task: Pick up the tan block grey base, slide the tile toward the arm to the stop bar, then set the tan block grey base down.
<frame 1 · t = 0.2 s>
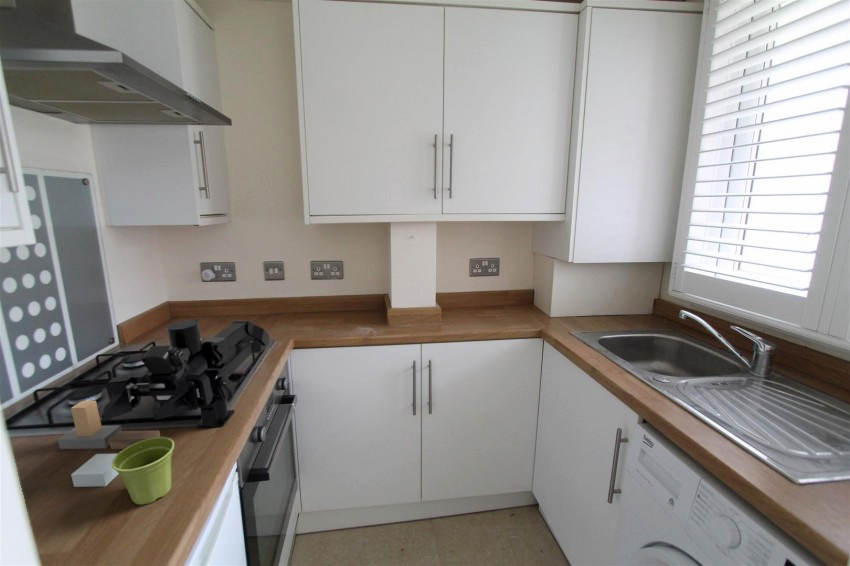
hand: (129, 417, 68), 17 cm above the worktop, tool horizontal, fingers open, 9 cm apart
tile: (102, 476, 78), on the worktop
stop bar: (136, 444, 87), on the worktop
tan block grey base: (92, 442, 89), on the worktop
plant pot: (152, 493, 73), on the worktop
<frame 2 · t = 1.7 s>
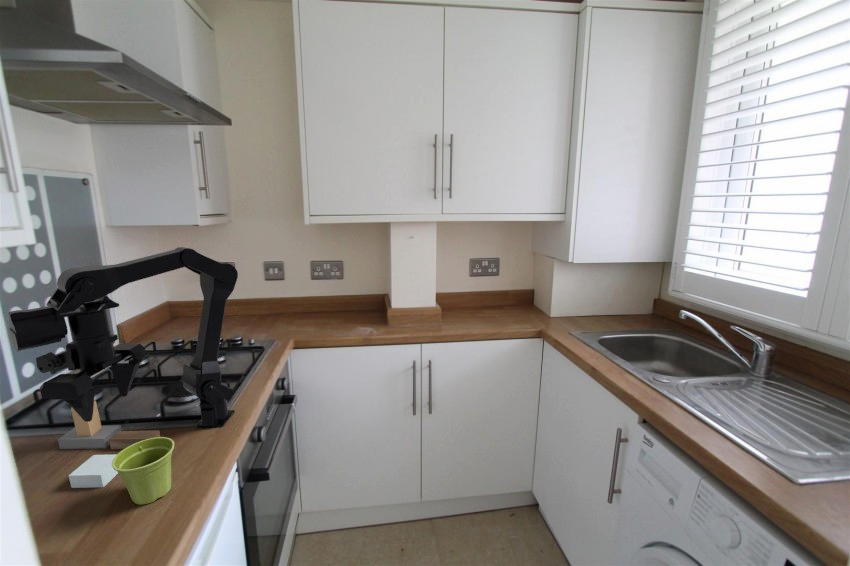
hand: (107, 407, 78), 13 cm above the worktop, tool pointing down, fingers open, 9 cm apart
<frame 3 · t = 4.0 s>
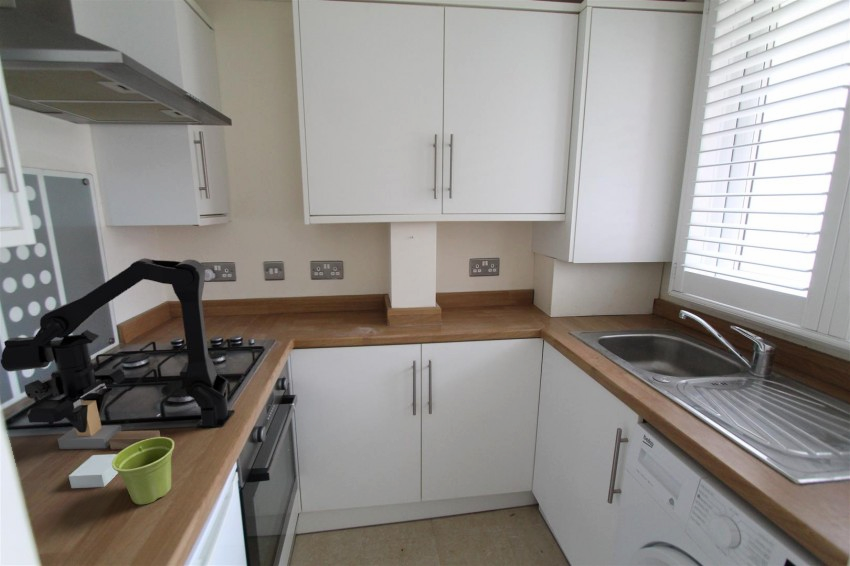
hand: (88, 427, 88), 4 cm above the worktop, tool pointing down, fingers closed on tan block grey base, 3 cm apart
tan block grey base: (92, 441, 89), on the worktop, touching gripper
everything else where it was.
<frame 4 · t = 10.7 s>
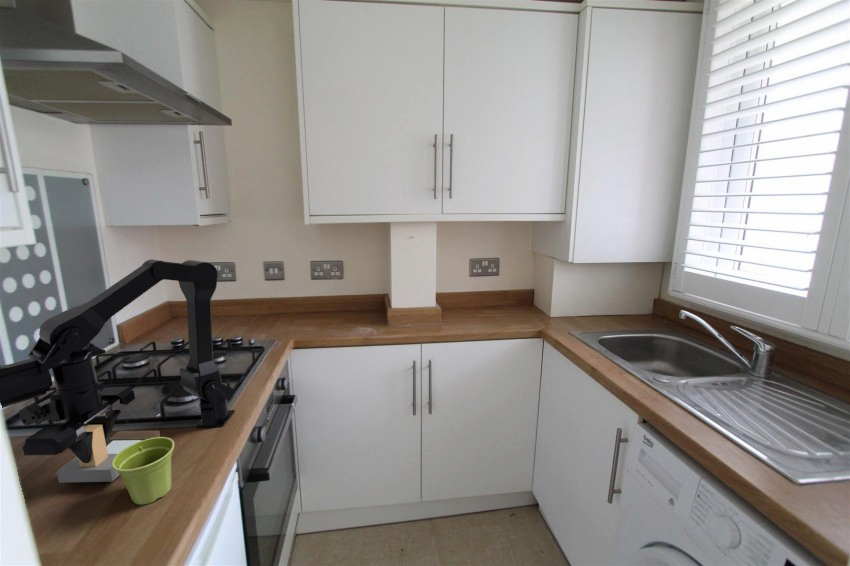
hand: (94, 456, 76), 5 cm above the worktop, tool pointing down, fingers closed on tan block grey base, 3 cm apart
tile: (119, 461, 82), on the worktop
tan block grey base: (96, 473, 77), point 1 cm above the worktop, touching gripper
everything else where it was.
when the fingers open (5 cm above the worktop, at t = 14.0 s): tan block grey base drops 2 cm, on the worktop.
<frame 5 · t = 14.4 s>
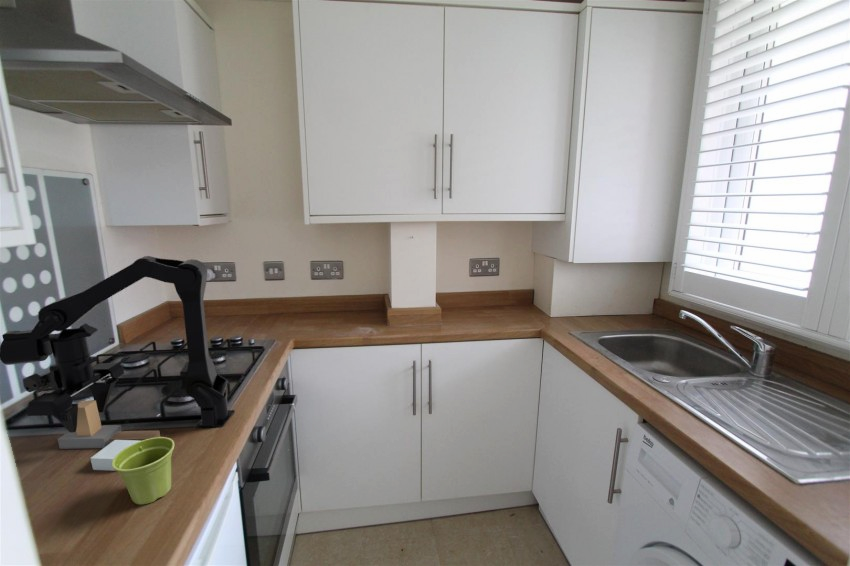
hand: (87, 421, 88), 5 cm above the worktop, tool pointing down, fingers open, 7 cm apart
tan block grey base: (92, 441, 89), on the worktop
everything else where it was.
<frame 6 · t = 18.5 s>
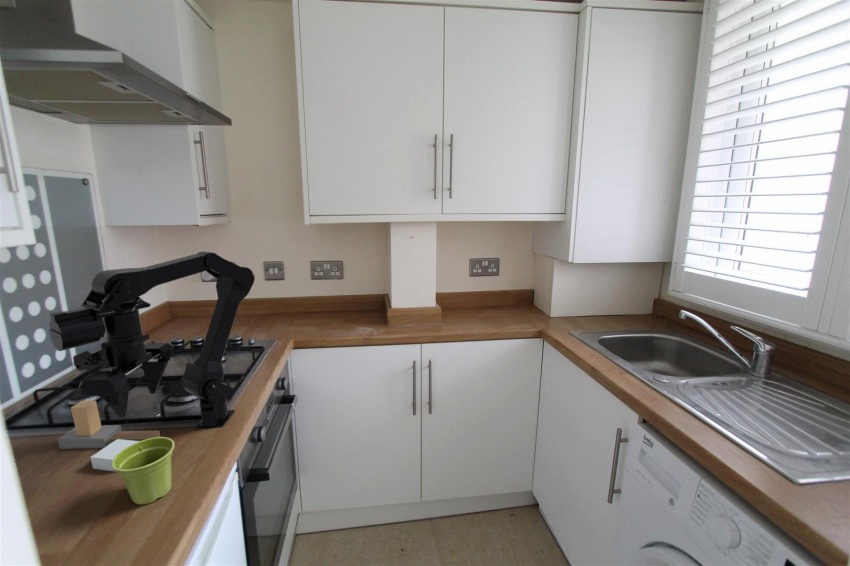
hand: (138, 404, 81), 12 cm above the worktop, tool pointing down, fingers open, 9 cm apart
nothing on the worktop moved.
at the end: tile 0.4 cm from the target spot on the worktop beside the stop bar, on the worktop; tan block grey base 0.1 cm from the target spot, on the worktop; the gripper is holding nothing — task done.
